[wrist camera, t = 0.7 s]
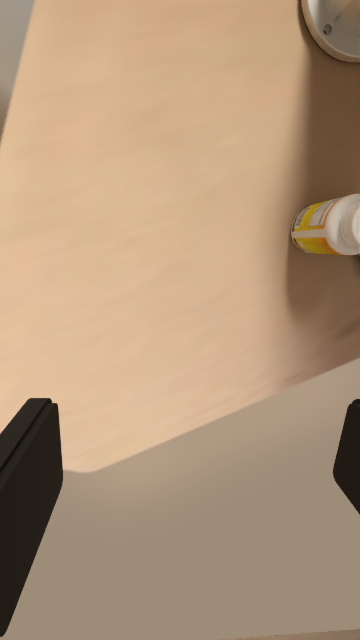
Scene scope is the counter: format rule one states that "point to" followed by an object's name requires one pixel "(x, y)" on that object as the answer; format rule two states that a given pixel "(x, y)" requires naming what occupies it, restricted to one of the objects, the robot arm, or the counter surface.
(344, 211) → the supplement bottle
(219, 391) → the counter surface
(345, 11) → the robot arm
